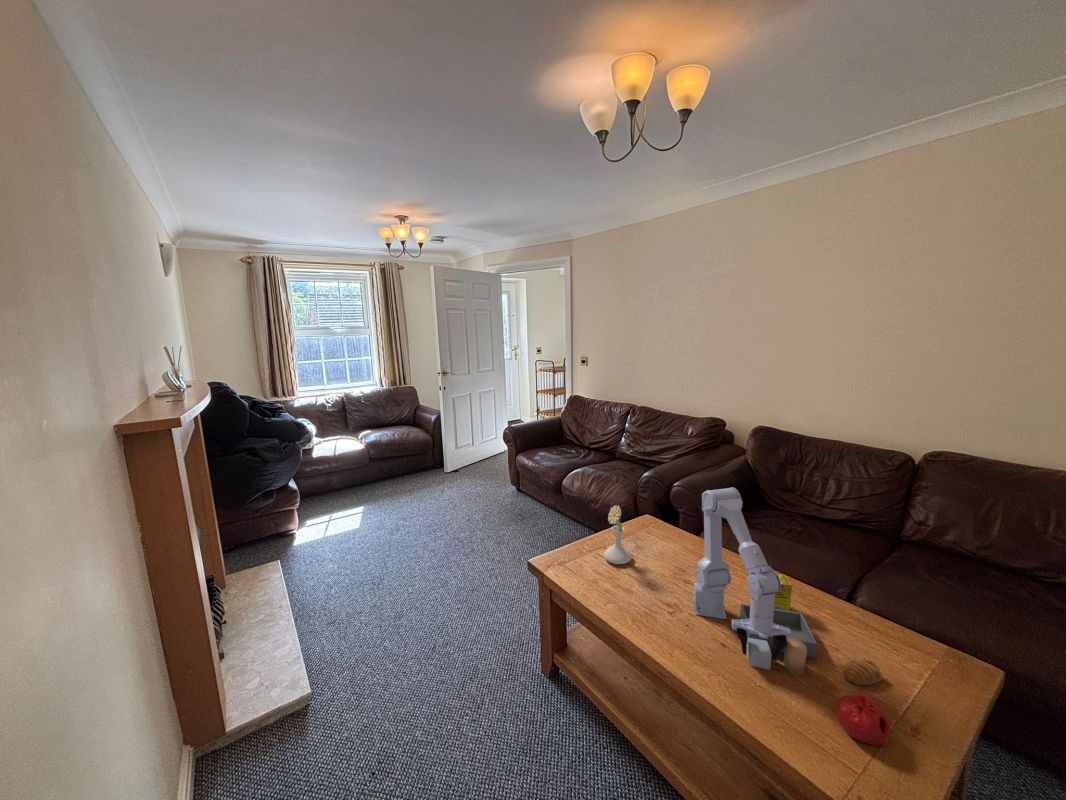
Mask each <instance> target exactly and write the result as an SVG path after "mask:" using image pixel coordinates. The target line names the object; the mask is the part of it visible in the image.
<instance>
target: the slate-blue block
mask: <svg viewBox="0 0 1066 800" xmlns="http://www.w3.org/2000/svg"><path fill="white" fill-rule="evenodd" d="M746 656H747V659H748V662H749V666H750V667H755V668H759V669H766V670H771V666H772V665H771V664H772V652H771V651H770V648H769V645H768V643H767V641H765V640H759V639H753V638H748V640H747V644H746Z"/></svg>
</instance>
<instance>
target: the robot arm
mask: <svg viewBox="0 0 1066 800" xmlns="http://www.w3.org/2000/svg"><path fill="white" fill-rule="evenodd" d="M701 501H702V502H701V511H702V512H703V525H704V527H703V530H704V533H703V534H704V537H703V538H704V557H703V558H701V559H700V560H699V561H697V562H696V570H695V580H696V582H694V583H693V598H692V602H693V603H692V604H693V607H694V614H695V615H696V616H702V617H709V618H715V619H722V620H726V619H727V615H726V610H725V605H724V604H725V590H726V589H727V587H728V585H730V584H731V581H732V574H731V570H730V565H729V563H727V561H726V560H724V559H723V535H722V534H723V532H722V531H723V530H722V529H723V528H722V526H723V523H722V519H725V520H726V521H727V522H728V525H729V526H730V528H731V530H732V532H733V534H734V536H735V538H736V539H737V542H738V543H739V546H738V553H739V554H738V555H740V558H741V561H742V563H743V564H744V567H745V570H746V571H747V575H748V576H747V577H746V582H747V583H746V584H747V586H748V593H749V596H750V604H749V605H750V619H733V618H732V619H731V628H732V630H733V631H736V635H737V637H738V639H739V641H740V643H741V651H742V654H743V655H746V656H747V639H748V638H747V633H746V630H747V631H750V632H753V633H755V634H758V635H759V636H760V637H761V638H768V636H773V644H772V652H771V657H772V659H773V660H775V661H777V660H778V659H777V658H778V656H779V655H780V654H781V653H780V651H781V650H782V649H783V648H784V647H785V646H786V645H787V640H786V638H788V639H791V631H790V629H789V628H787V627H783V626H780V625H777V624H774V623H773V615H774V601H775V593H774V592H777V591H779V590H780V589H781V582H780V579H779V576H778V575H777V574H778V573H777V572H776V571H775V570H774V569H773V568H772V567H771V566H770V565H768V562H767V560H766V558H765V556H764V554H763V552H762V550H761V547H760V545H759V544H757V543H756V542H754V541H753V539H752V537H751V533H750V531H749V529H748V525H747V523H746V520H745V518H744V515H743V512H742V508H743V500H742V497H741V494H740V492H739V490H738V489H736V487H734V486H733V487H732V486H731V487H727V488H719V489H712V490H710V489H706V490H705V491H703V492H702V493H701Z"/></svg>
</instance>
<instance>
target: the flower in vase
mask: <svg viewBox="0 0 1066 800" xmlns="http://www.w3.org/2000/svg"><path fill="white" fill-rule="evenodd" d="M621 516H622V509H621V507H620V505H613V506H612V507H611V508H610V510H609V513H608V517H607V521H608V522H609V524H611V525H613V526H611V530H612V531H613V534H614V544H613V545H611V546H609V547H608V548H606V549H605V551H604V552H603V557H604V558H605V560H606V561H608V562H609V563H612V564H614V565H624V564H627V563H629V562H630V561H632V558H633V555H632V552H631V551H630V550H629V549H628V548H626V547H625V546H623V545H622V542H621V539H622V534H623V532H624V530H625V527H624V526H623V524H621Z"/></svg>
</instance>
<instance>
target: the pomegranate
mask: <svg viewBox="0 0 1066 800" xmlns="http://www.w3.org/2000/svg"><path fill="white" fill-rule="evenodd" d="M856 692H857V694H842V693H841V695H842V696H841V697H840V698H839V699H838V700H837V704H836V709H835V713H836V717H837V720H838V722H839V723H840V725H841V726H842V727H843V729H844V730H845V732H847V734H848V735H849V736H851V738H854V739H855V740H857V741H859V742H862V743H865V744H867V745H881V744H883V743H885V742H886V741H887V739H888V736H889V734H890V729H891V728H890V727H891V726H890V723H889V720H888V718H887V717H886V715H885V714H884V713H883V712H882V710H881V709H880V708H879V707H878V706H876V705H880V702H877V701H875V700H873V701H871V700H869V699H868V698H867V697H866V695H865V694H864V693H860V692H859V691H858V690H856ZM875 704H876V705H875Z"/></svg>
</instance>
